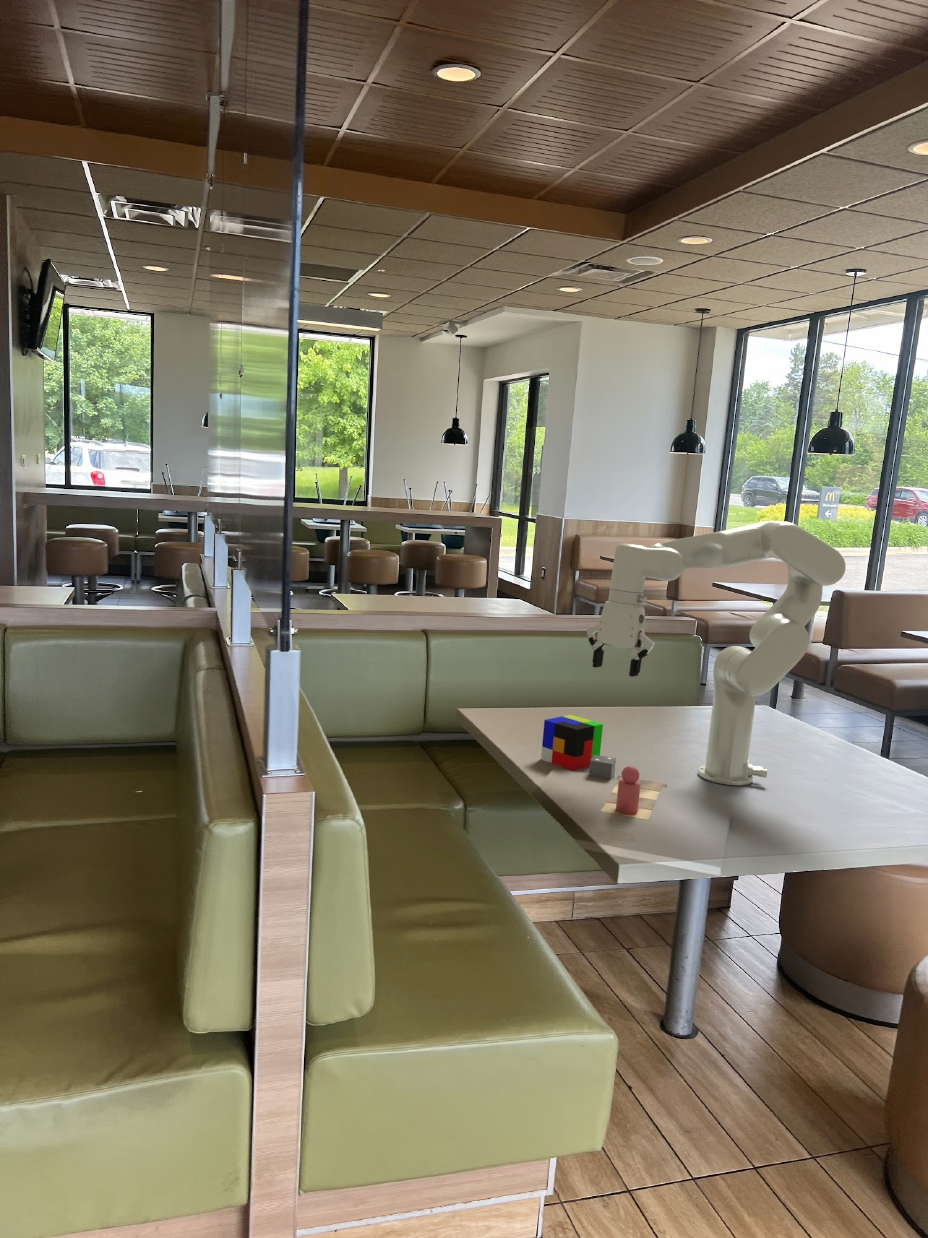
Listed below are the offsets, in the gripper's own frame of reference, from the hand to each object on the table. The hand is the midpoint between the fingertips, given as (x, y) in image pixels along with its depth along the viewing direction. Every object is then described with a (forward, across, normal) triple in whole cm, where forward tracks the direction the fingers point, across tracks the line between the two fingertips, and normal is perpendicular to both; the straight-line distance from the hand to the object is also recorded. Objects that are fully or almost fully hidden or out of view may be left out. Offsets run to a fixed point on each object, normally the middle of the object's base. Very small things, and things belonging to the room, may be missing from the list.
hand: (615, 671), depth 211 cm
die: (+25, -3, +4) cm, 25 cm away
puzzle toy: (+25, +10, -2) cm, 27 cm away
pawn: (+23, -19, +21) cm, 36 cm away
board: (+24, -15, +12) cm, 31 cm away
